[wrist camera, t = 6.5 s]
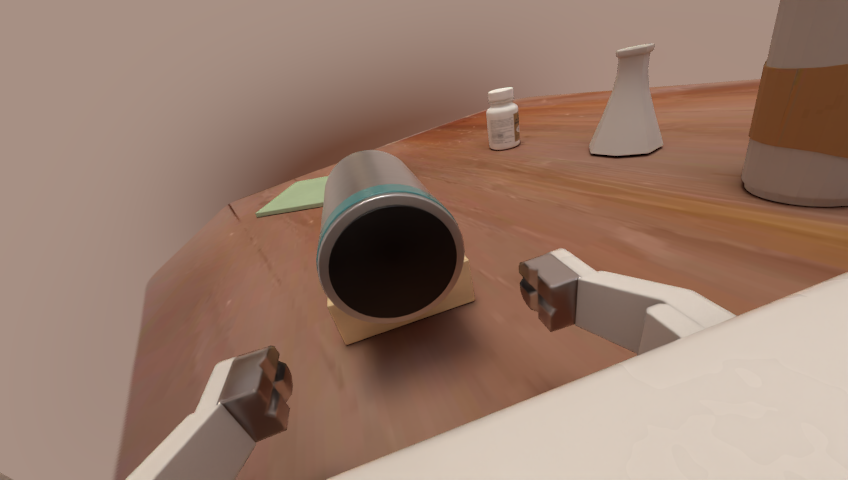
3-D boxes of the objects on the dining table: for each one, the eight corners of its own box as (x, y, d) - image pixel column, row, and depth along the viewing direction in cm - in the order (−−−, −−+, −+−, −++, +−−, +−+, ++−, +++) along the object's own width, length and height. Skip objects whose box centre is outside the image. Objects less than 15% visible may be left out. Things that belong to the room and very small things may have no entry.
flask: (667, 137, 35) (685, 35, 30) (657, 158, 31) (677, 42, 26) (596, 139, 40) (603, 50, 35) (579, 158, 35) (584, 59, 30)
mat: (257, 217, 41) (254, 213, 40) (297, 185, 51) (295, 181, 51) (340, 203, 39) (338, 199, 38) (364, 173, 49) (363, 169, 49)
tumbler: (475, 299, 14) (454, 174, 11) (346, 344, 13) (288, 223, 10) (425, 223, 22) (405, 137, 19) (342, 249, 21) (308, 164, 18)
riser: (475, 300, 18) (469, 259, 17) (345, 345, 17) (326, 306, 16) (438, 245, 25) (431, 212, 23) (342, 275, 24) (329, 243, 22)
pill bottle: (524, 145, 44) (522, 86, 40) (495, 152, 44) (489, 94, 40) (513, 139, 48) (510, 85, 44) (485, 146, 48) (480, 92, 44)
